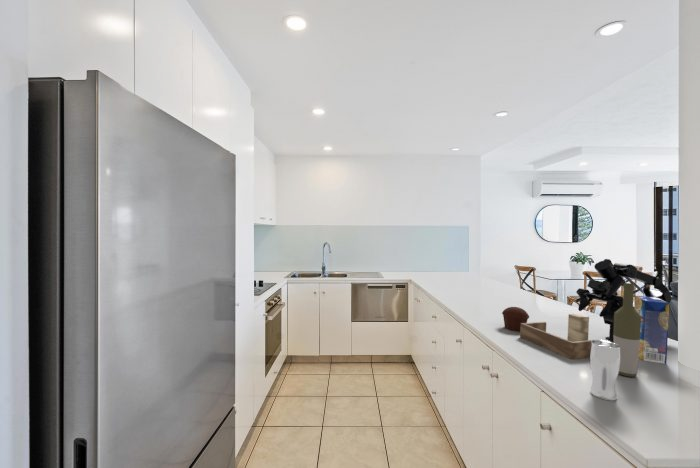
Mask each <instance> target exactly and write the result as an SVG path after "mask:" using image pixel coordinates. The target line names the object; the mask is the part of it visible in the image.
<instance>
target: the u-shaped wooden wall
mask: <svg viewBox="0 0 700 468" xmlns="http://www.w3.org/2000/svg"><path fill="white" fill-rule="evenodd" d="M519 336H520V338H521V339H524V340H526V341H528V342H531V343H533V344H535V345H537V346H540V347H543V348H544V349H546V350H549V351H552V352H554V353H556V354H558V355H561V356H563V355H564V357H566V358H568V359H570V358H571V359H570V360H577V358H579V359H586V358H585V357H588V358H590V349H591V341H592V340H593V339H590V340H589V339H588V340H587V341H576V342H571V341H569V340H568V339H566V338H564V337H563V338H562V337H560V336H557V335H554V334H552V333H550V332H547V321H538V322H535V321H534V322H527V323H521V326H520V332H519Z"/></svg>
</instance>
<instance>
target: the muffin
mask: <svg viewBox="0 0 700 468" xmlns="http://www.w3.org/2000/svg"><path fill="white" fill-rule="evenodd" d="M501 314H502V316H503V323H504V328H505V329H507V330H508V331H512V332H519V333H520V326H521V323H528V319H530V315H529V314H528V312H527V311H526V310H524V309H523V308H521V307H519V306H518V307H517V306H508V307H507V308H504V310H503V311H502V312H501Z"/></svg>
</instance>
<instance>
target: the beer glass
mask: <svg viewBox="0 0 700 468" xmlns="http://www.w3.org/2000/svg"><path fill="white" fill-rule="evenodd" d="M591 340H592V341H591V349H590V357H589V363H590V370H591V379H592V381H591V387H590V390H589V391H590V392H589V393H590V394H591V395H592V396H594V397H595V398H598V399H601V400H604V401H605V400H606V401H612V402H613V401H616V400H617V391H616V384H617V379H618V375H619V374H618V373H619V368H620V346H619V345H618V344H616V343H613V342H611V341H608V340H604V339H603V340H602V339H591Z"/></svg>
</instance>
